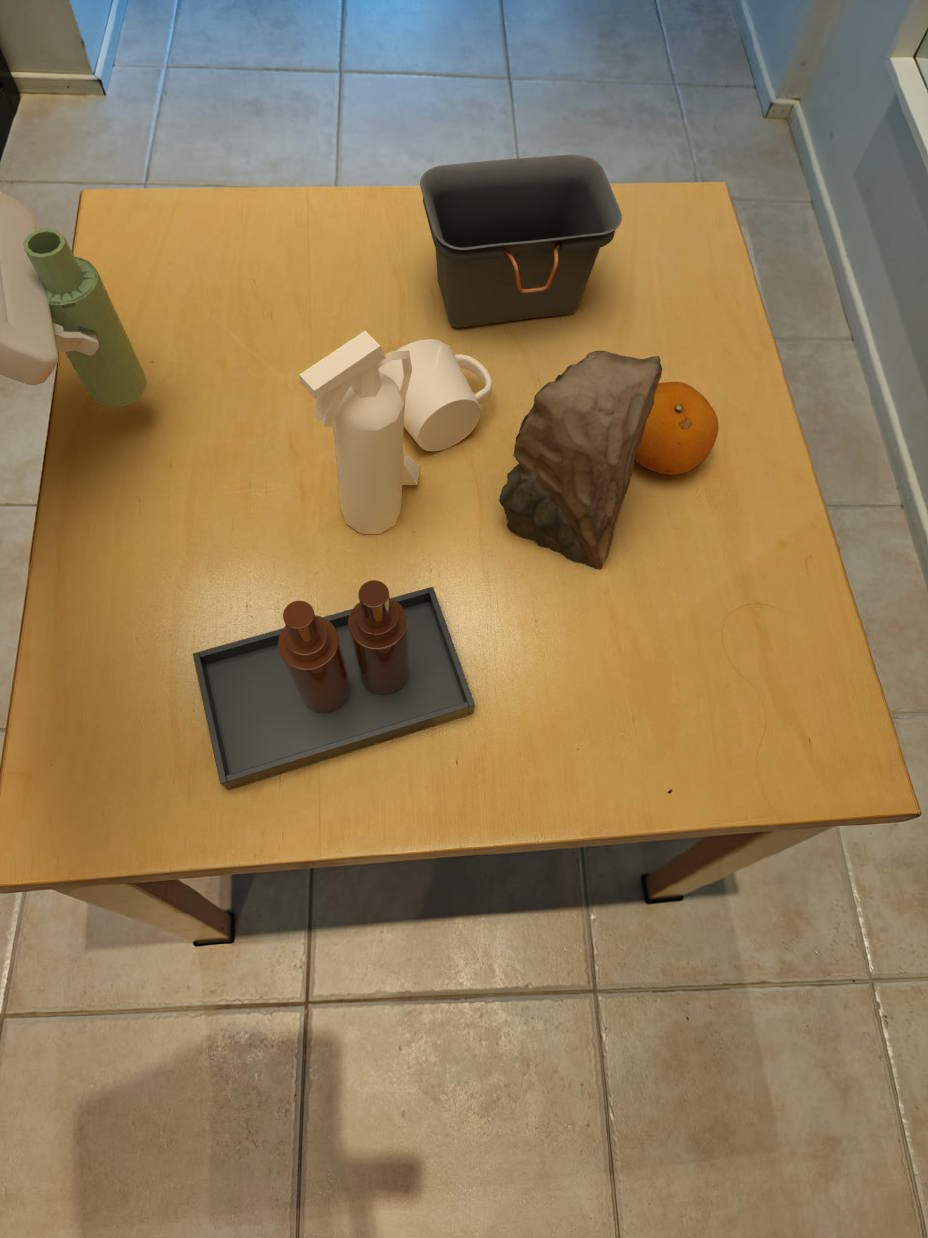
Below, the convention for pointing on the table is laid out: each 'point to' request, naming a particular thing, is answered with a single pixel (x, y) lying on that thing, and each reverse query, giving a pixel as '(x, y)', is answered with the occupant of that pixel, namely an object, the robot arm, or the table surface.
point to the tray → (296, 736)
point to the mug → (439, 394)
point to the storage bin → (517, 234)
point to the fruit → (677, 430)
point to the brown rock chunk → (580, 454)
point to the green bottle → (87, 319)
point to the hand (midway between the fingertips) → (90, 316)
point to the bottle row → (319, 654)
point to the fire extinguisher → (365, 430)
